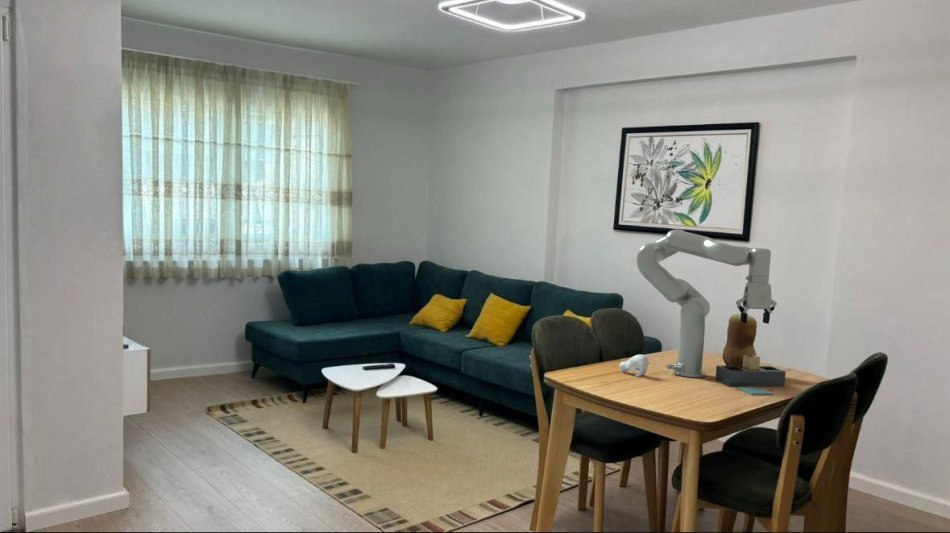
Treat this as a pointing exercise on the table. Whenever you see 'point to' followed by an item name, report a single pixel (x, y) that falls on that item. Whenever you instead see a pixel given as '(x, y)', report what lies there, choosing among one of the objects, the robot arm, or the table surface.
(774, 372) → the graphite rack rail
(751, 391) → the teal rubber mat
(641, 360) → the white animal figurine
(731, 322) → the butternut squash
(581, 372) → the table surface
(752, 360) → the tan rectangular block
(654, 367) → the table surface
